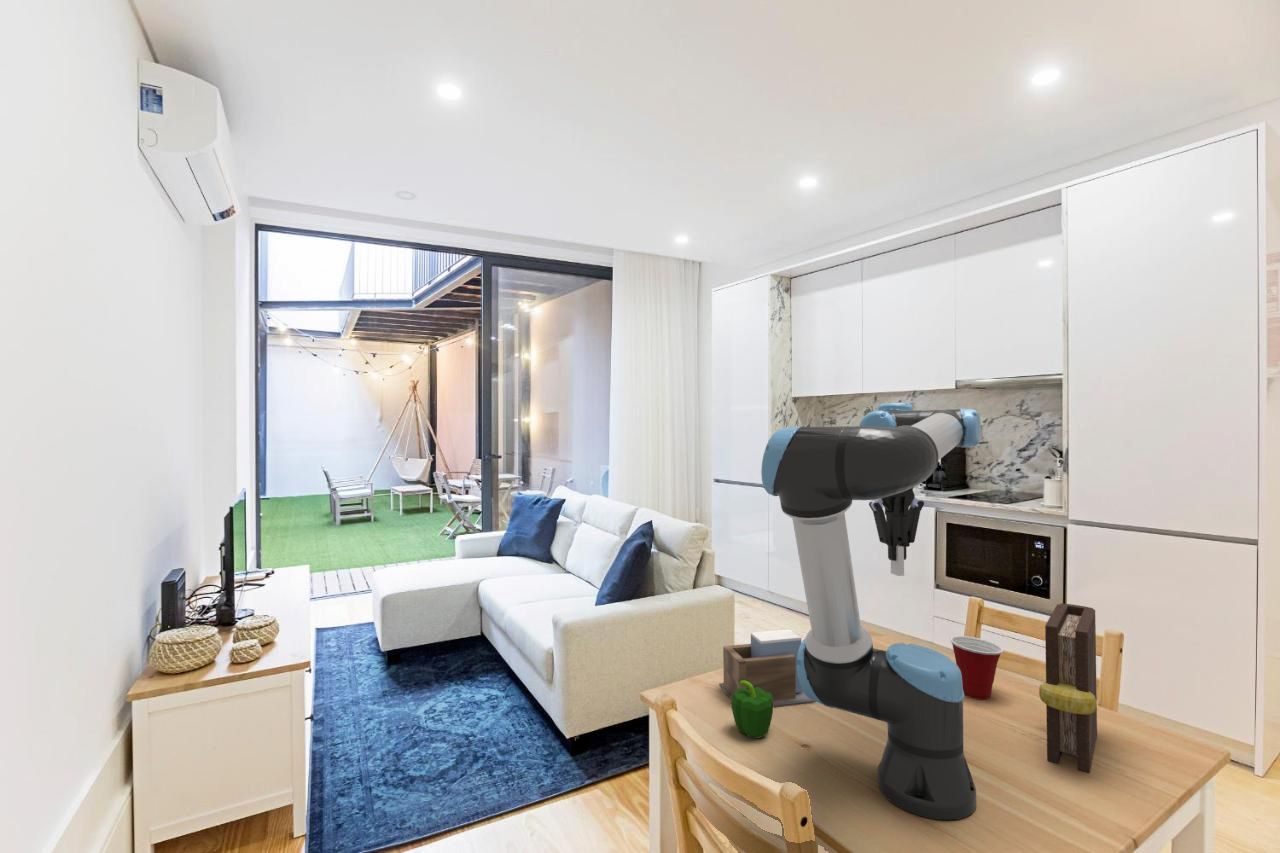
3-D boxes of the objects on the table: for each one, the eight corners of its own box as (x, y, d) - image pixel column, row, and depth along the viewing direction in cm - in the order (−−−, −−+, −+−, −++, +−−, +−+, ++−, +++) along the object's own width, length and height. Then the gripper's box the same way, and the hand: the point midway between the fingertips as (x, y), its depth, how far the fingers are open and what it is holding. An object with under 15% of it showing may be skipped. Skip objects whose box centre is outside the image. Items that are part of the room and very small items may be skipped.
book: (1053, 720, 127) (1051, 601, 127) (1104, 733, 121) (1102, 609, 121) (1037, 765, 110) (1035, 628, 110) (1096, 783, 105) (1093, 638, 105)
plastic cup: (1012, 706, 133) (1012, 652, 134) (960, 703, 135) (959, 649, 135) (992, 685, 144) (991, 635, 144) (944, 683, 146) (943, 633, 146)
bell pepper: (783, 734, 122) (782, 685, 122) (753, 746, 118) (752, 695, 118) (753, 718, 129) (753, 671, 129) (724, 729, 125) (724, 680, 125)
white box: (801, 692, 140) (801, 637, 140) (761, 696, 138) (761, 641, 138) (789, 681, 146) (789, 629, 146) (751, 685, 144) (750, 632, 144)
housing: (816, 702, 136) (815, 658, 136) (741, 711, 132) (740, 665, 132) (787, 677, 150) (787, 637, 150) (719, 685, 146) (718, 643, 146)
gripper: (910, 469, 143) (911, 569, 143) (861, 470, 140) (862, 572, 140) (932, 471, 136) (933, 576, 135) (880, 472, 133) (882, 580, 133)
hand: (897, 574), depth 138 cm, fingers closed
